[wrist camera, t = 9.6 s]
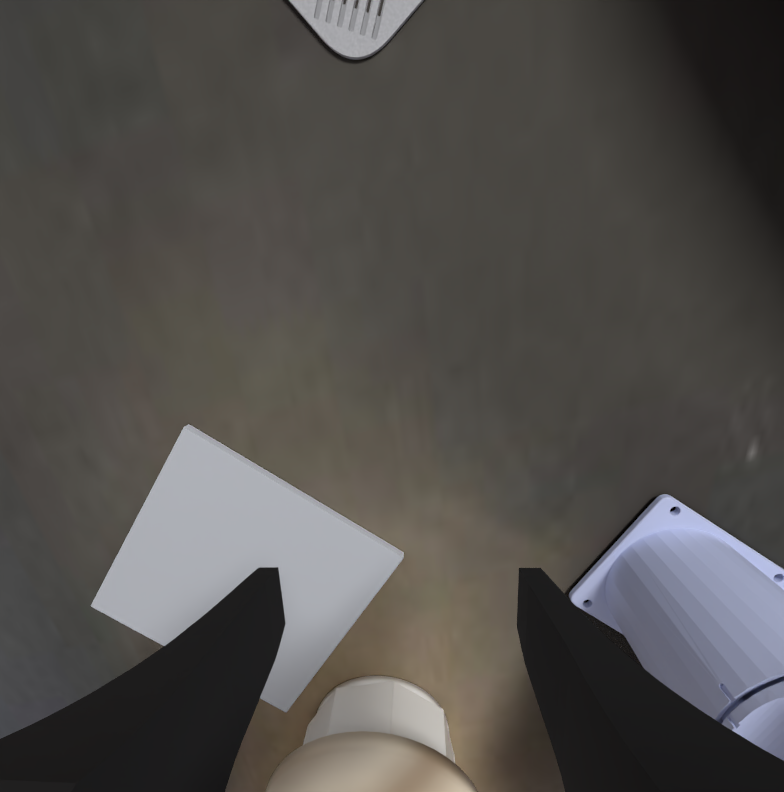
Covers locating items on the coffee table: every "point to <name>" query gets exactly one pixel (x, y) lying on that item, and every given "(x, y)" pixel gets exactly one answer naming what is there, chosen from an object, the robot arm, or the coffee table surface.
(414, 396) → the coffee table surface
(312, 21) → the handheld gaming device
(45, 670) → the coffee table surface
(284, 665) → the mat
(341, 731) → the bowl
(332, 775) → the lid
